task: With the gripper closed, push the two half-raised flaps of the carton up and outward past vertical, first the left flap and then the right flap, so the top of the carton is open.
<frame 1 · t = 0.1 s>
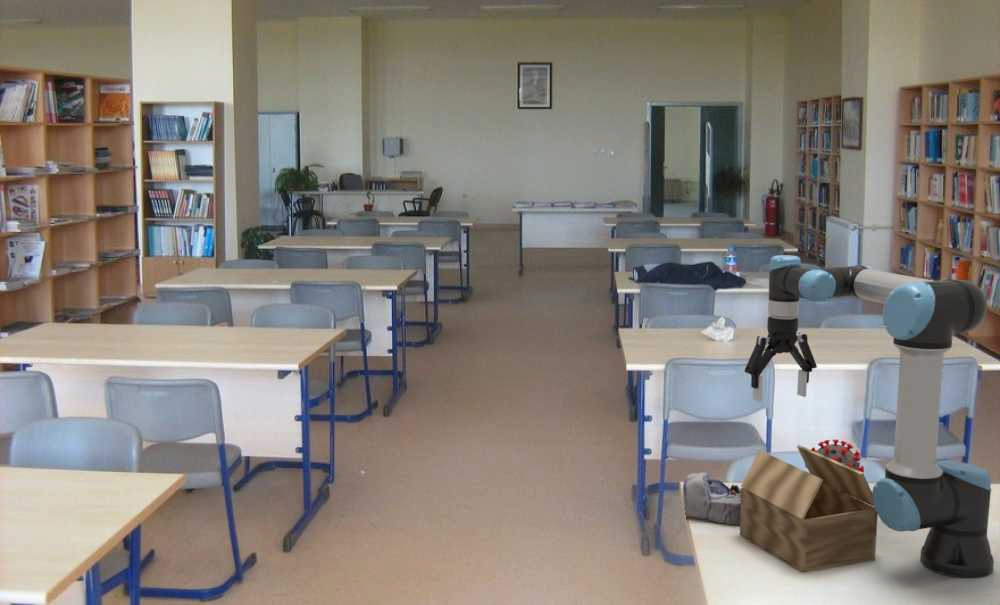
hand: (779, 398, 281), 28 cm above the table, fingers open, 13 cm apart
right flap: (836, 475, 256), point 16 cm above the table, hinge at 60.0°
left flap: (780, 483, 250), point 16 cm above the table, hinge at 60.0°
carton: (805, 547, 256), on the table
cell model: (722, 518, 276), on the table
virus model: (833, 494, 293), on the table
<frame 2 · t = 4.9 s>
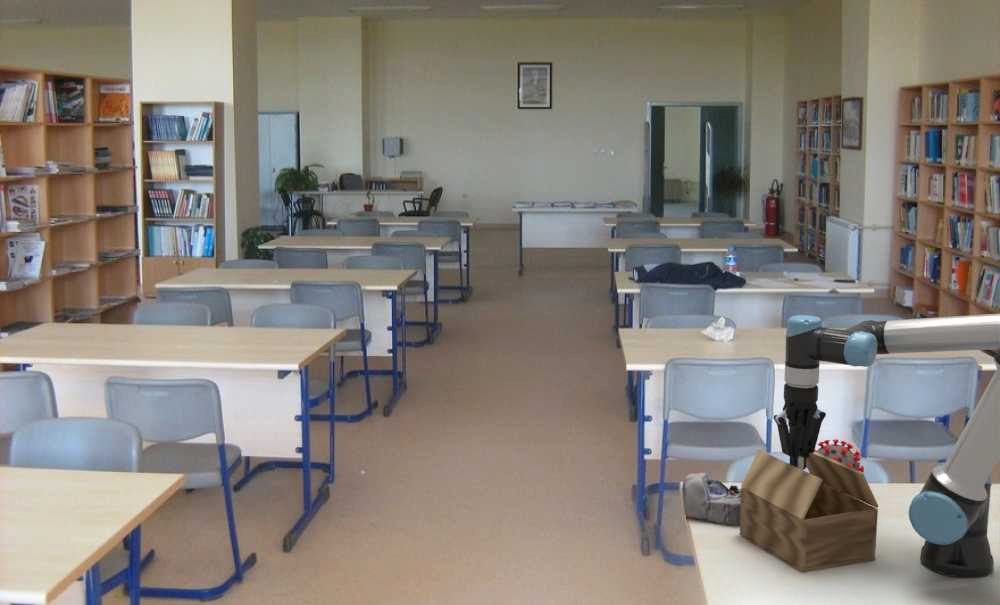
hand: (796, 483, 253), 16 cm above the table, fingers closed
left flap: (780, 483, 250), point 17 cm above the table, hinge at 61.1°, touching gripper
everything else where it was.
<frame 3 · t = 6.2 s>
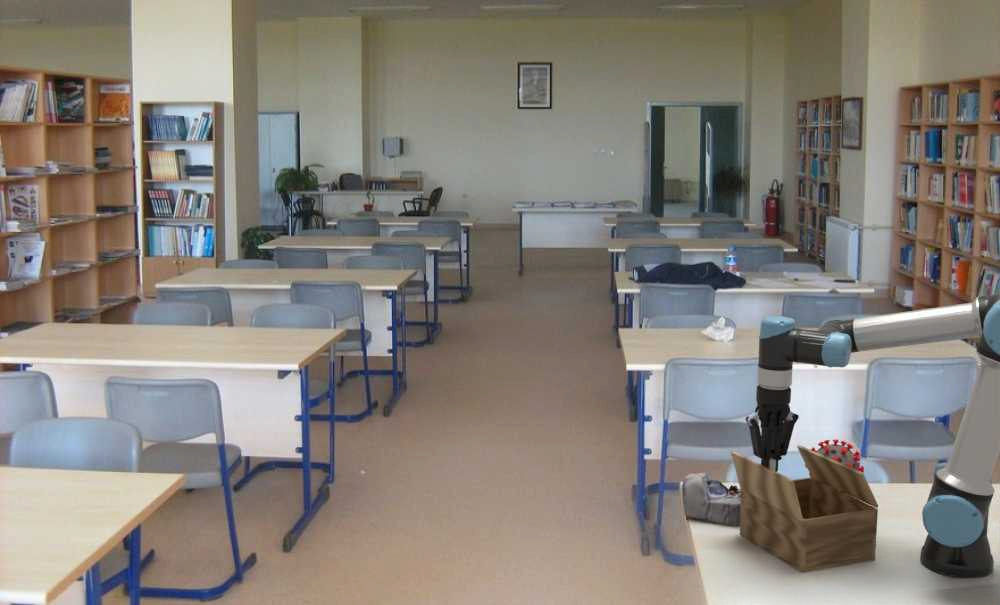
hand: (768, 485, 250), 16 cm above the table, fingers closed
left flap: (765, 484, 249), point 17 cm above the table, hinge at 107.9°, touching gripper
everything else where it was.
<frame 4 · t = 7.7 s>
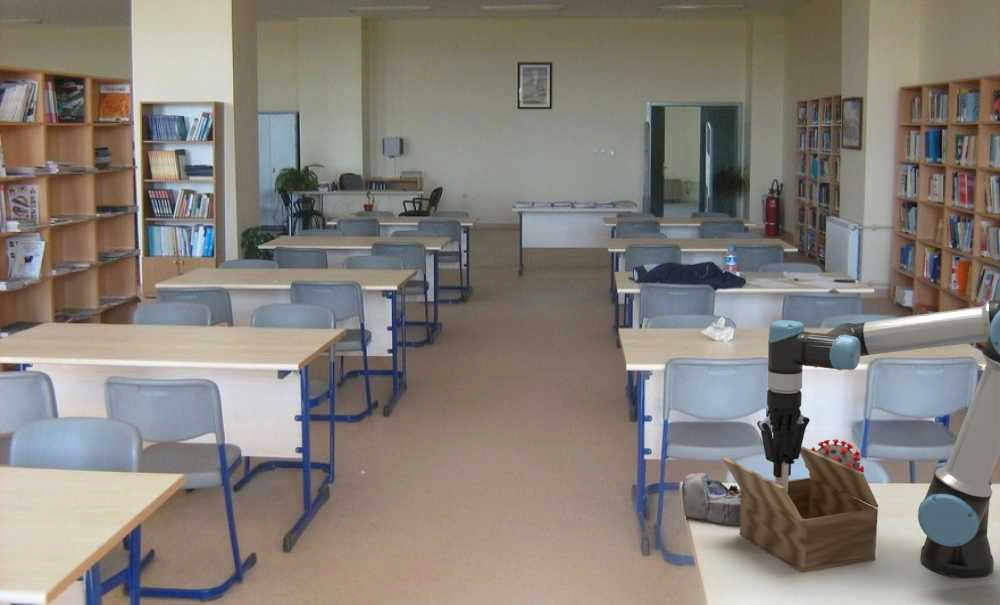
hand: (781, 490, 250), 15 cm above the table, fingers closed
left flap: (761, 488, 249), point 16 cm above the table, hinge at 123.5°
everything else where it was.
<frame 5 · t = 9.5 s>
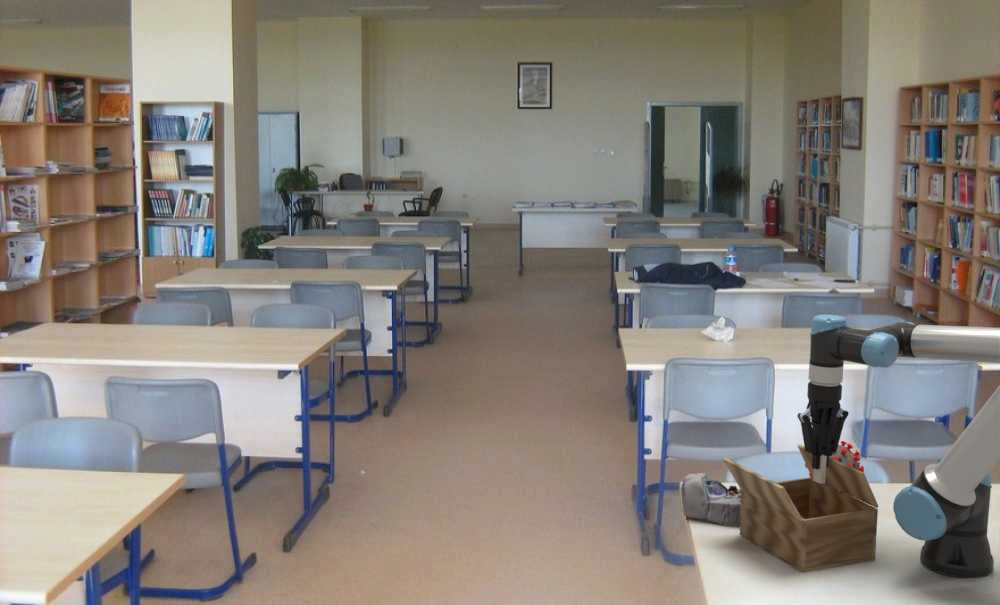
hand: (819, 481, 254), 16 cm above the table, fingers closed
right flap: (836, 475, 256), point 17 cm above the table, hinge at 61.2°, touching gripper
everything else where it was.
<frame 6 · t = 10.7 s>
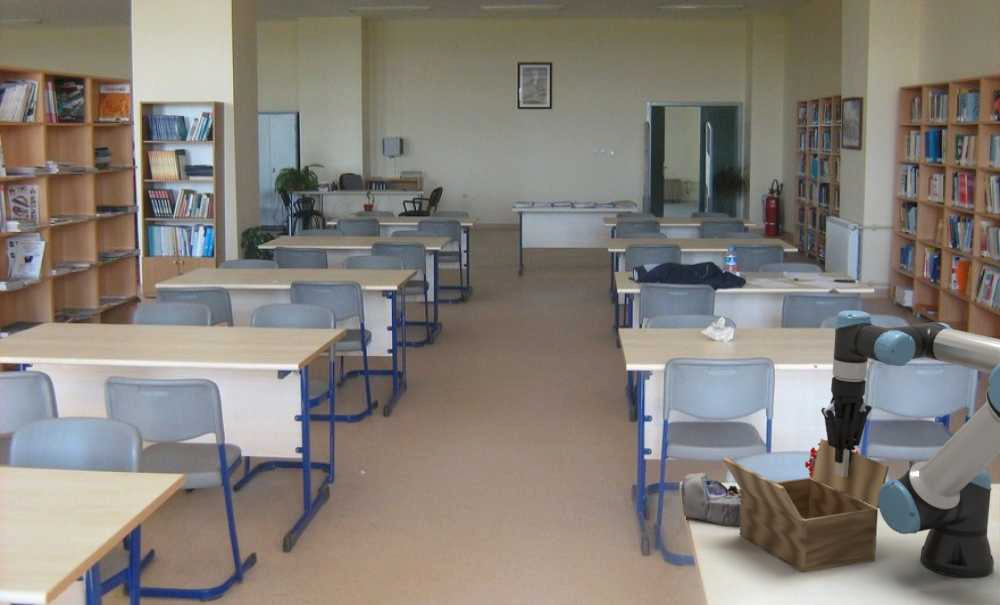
hand: (841, 475, 257), 16 cm above the table, fingers closed
right flap: (848, 472, 257), point 17 cm above the table, hinge at 103.1°, touching gripper
everything else where it was.
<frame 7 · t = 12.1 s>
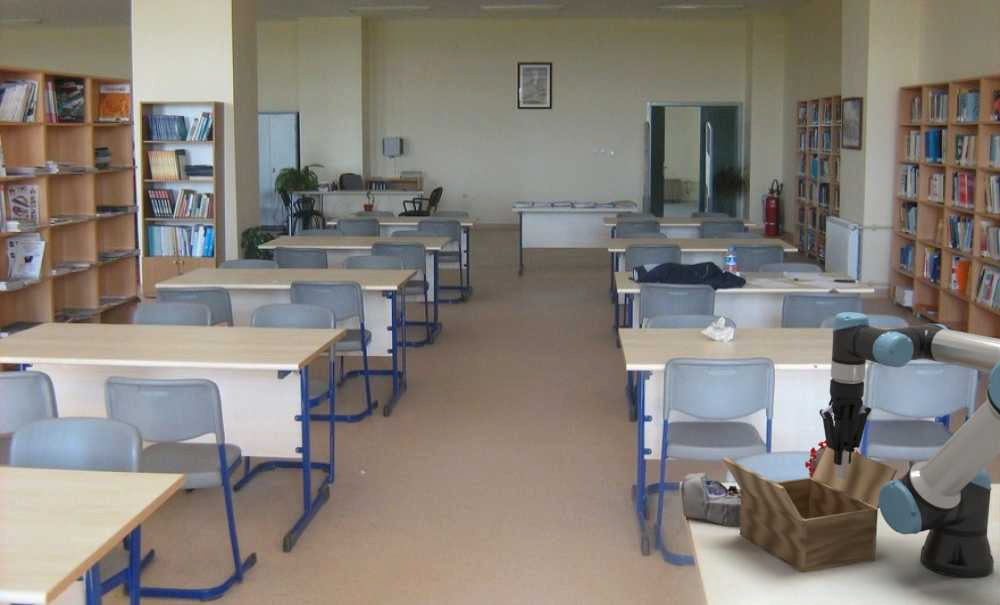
hand: (841, 477, 257), 16 cm above the table, fingers closed
right flap: (852, 473, 258), point 16 cm above the table, hinge at 118.9°
everything else where it was.
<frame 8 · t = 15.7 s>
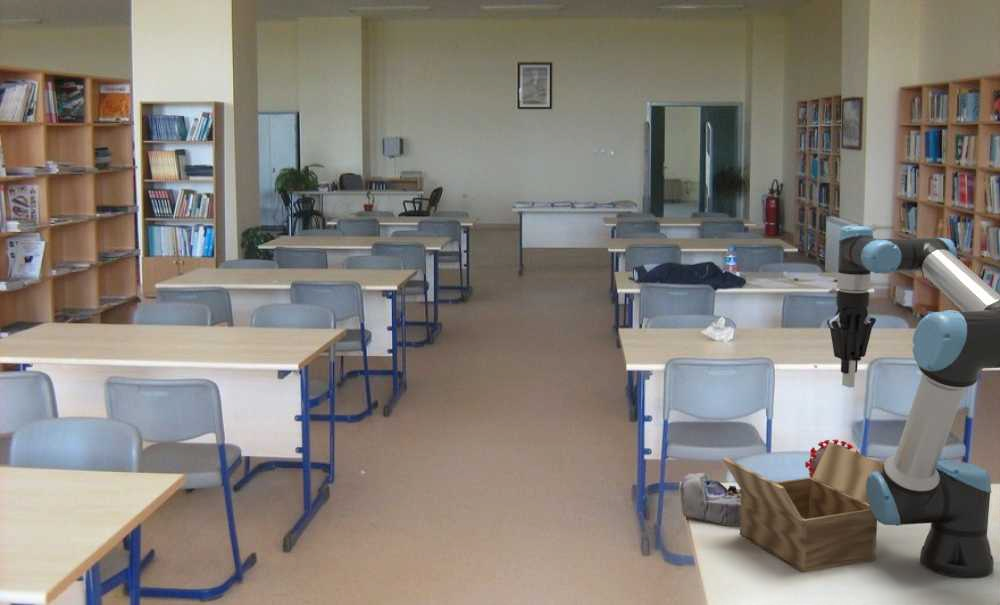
hand: (848, 385, 267), 34 cm above the table, fingers closed
right flap: (853, 473, 258), point 16 cm above the table, hinge at 119.2°
everything else where it was.
at the end: left flap at +124° (first picture: +60°); right flap at +119° (first picture: +60°) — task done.
